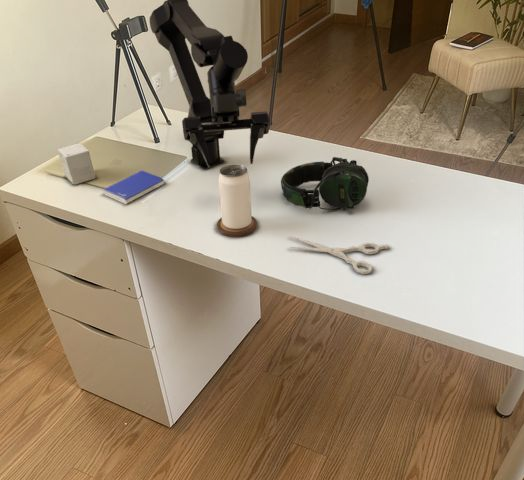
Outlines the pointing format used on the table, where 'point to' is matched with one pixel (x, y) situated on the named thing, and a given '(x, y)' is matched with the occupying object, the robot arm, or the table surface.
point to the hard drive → (133, 187)
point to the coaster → (237, 232)
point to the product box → (77, 163)
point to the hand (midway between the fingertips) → (230, 165)
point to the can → (235, 196)
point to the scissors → (341, 251)
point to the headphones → (326, 184)
